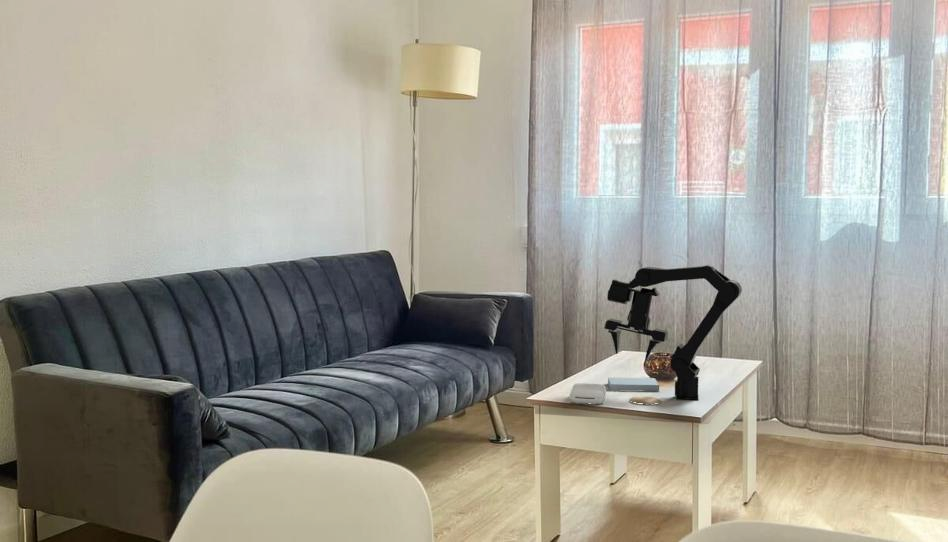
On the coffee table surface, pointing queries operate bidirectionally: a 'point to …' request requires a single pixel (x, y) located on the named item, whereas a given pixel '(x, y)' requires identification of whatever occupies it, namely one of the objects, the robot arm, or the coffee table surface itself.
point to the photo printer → (588, 393)
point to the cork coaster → (645, 400)
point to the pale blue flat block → (633, 384)
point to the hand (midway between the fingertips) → (631, 357)
